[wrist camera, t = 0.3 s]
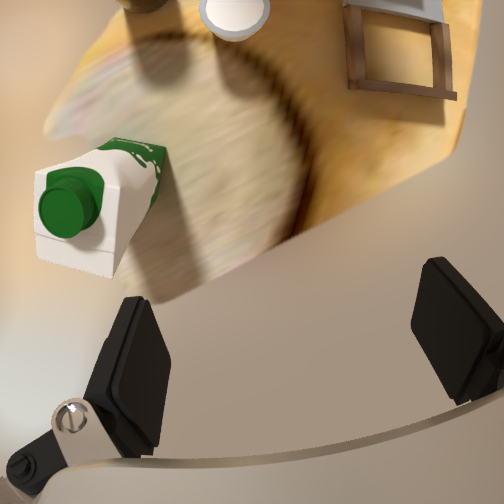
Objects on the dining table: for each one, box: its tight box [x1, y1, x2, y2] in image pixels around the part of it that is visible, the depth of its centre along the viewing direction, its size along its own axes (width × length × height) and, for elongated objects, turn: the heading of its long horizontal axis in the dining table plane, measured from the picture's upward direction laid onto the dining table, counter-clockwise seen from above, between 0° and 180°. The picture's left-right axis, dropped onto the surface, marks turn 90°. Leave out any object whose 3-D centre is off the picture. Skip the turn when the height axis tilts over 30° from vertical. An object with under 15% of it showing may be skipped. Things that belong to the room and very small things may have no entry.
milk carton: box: [34, 137, 166, 279], centre depth 29 cm, size 9×9×20 cm
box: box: [343, 4, 457, 101], centre depth 30 cm, size 11×14×4 cm
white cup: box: [199, 0, 271, 42], centre depth 26 cm, size 7×7×7 cm
